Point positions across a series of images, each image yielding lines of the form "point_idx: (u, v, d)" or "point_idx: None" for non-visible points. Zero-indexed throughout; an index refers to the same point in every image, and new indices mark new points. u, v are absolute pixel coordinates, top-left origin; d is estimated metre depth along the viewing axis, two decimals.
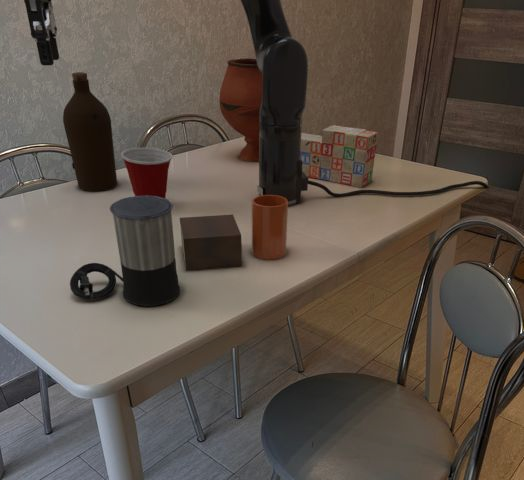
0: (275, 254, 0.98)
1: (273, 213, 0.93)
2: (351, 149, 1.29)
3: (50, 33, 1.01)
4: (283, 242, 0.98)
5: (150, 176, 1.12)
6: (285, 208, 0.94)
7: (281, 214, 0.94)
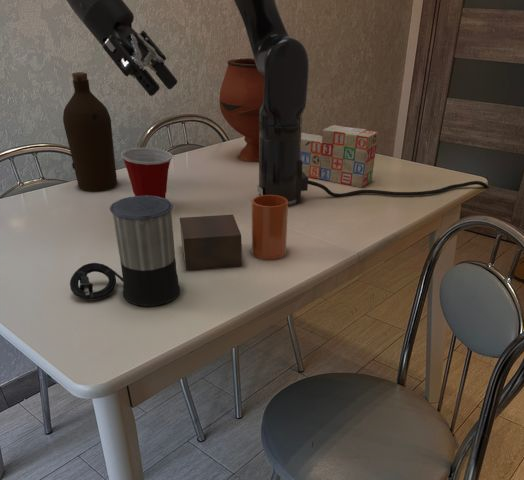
0: (275, 254, 0.98)
1: (273, 213, 0.93)
2: (351, 149, 1.29)
3: (158, 63, 0.96)
4: (283, 242, 0.98)
5: (150, 176, 1.12)
6: (285, 208, 0.94)
7: (281, 214, 0.94)
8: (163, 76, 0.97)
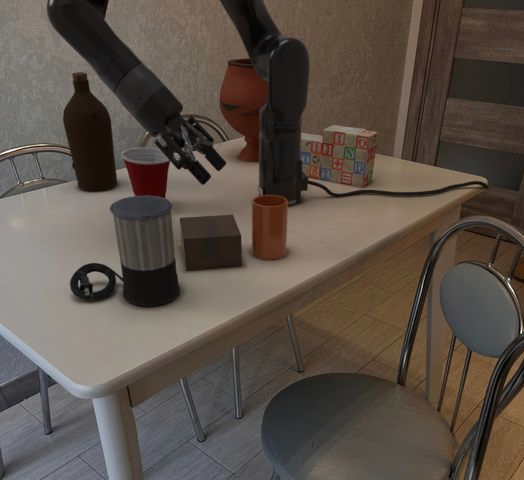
0: (275, 254, 0.98)
1: (273, 213, 0.93)
2: (351, 148, 1.29)
3: (206, 147, 0.97)
4: (283, 242, 0.98)
5: (150, 176, 1.12)
6: (285, 208, 0.94)
7: (281, 214, 0.94)
8: (212, 159, 0.98)
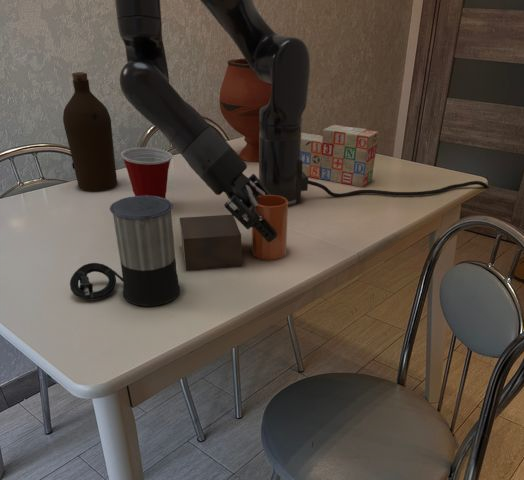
0: (275, 254, 0.98)
1: (273, 213, 0.93)
2: (352, 148, 1.30)
3: None
4: (283, 242, 0.98)
5: (150, 176, 1.12)
6: (285, 208, 0.94)
7: (281, 214, 0.94)
8: None
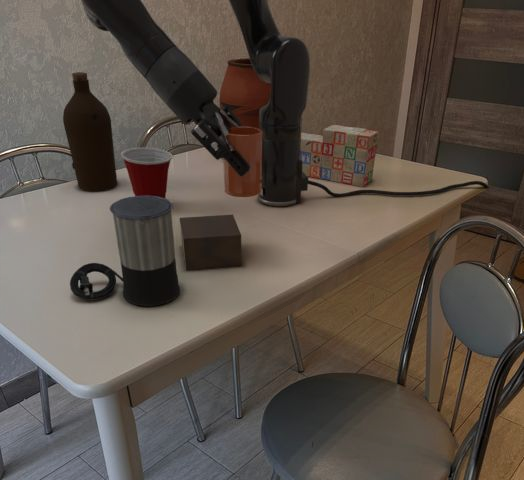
0: (249, 191, 0.90)
1: (245, 143, 0.85)
2: (352, 148, 1.30)
3: None
4: (257, 178, 0.90)
5: (150, 176, 1.12)
6: (259, 138, 0.86)
7: (254, 145, 0.86)
8: None
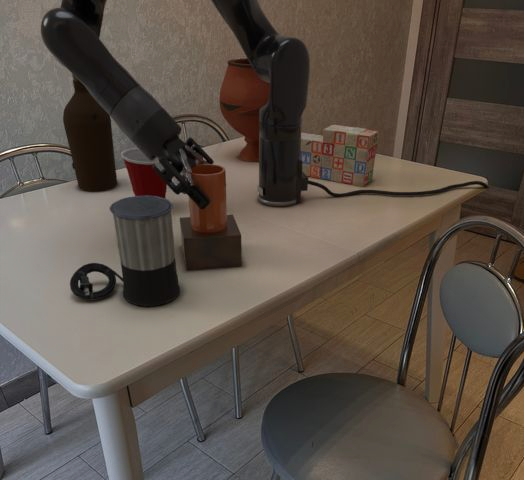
0: (213, 227, 0.92)
1: (208, 182, 0.88)
2: (352, 148, 1.30)
3: None
4: (222, 214, 0.92)
5: (150, 176, 1.12)
6: (222, 177, 0.89)
7: (217, 183, 0.89)
8: None
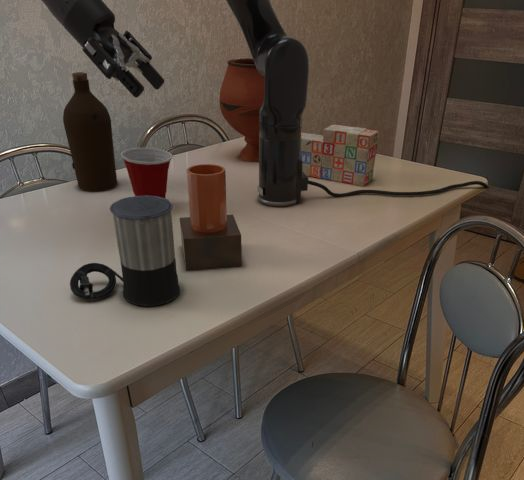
0: (213, 227, 0.92)
1: (208, 182, 0.88)
2: (353, 148, 1.30)
3: (143, 63, 0.94)
4: (222, 214, 0.92)
5: (150, 176, 1.12)
6: (222, 177, 0.89)
7: (217, 183, 0.89)
8: (149, 76, 0.94)
